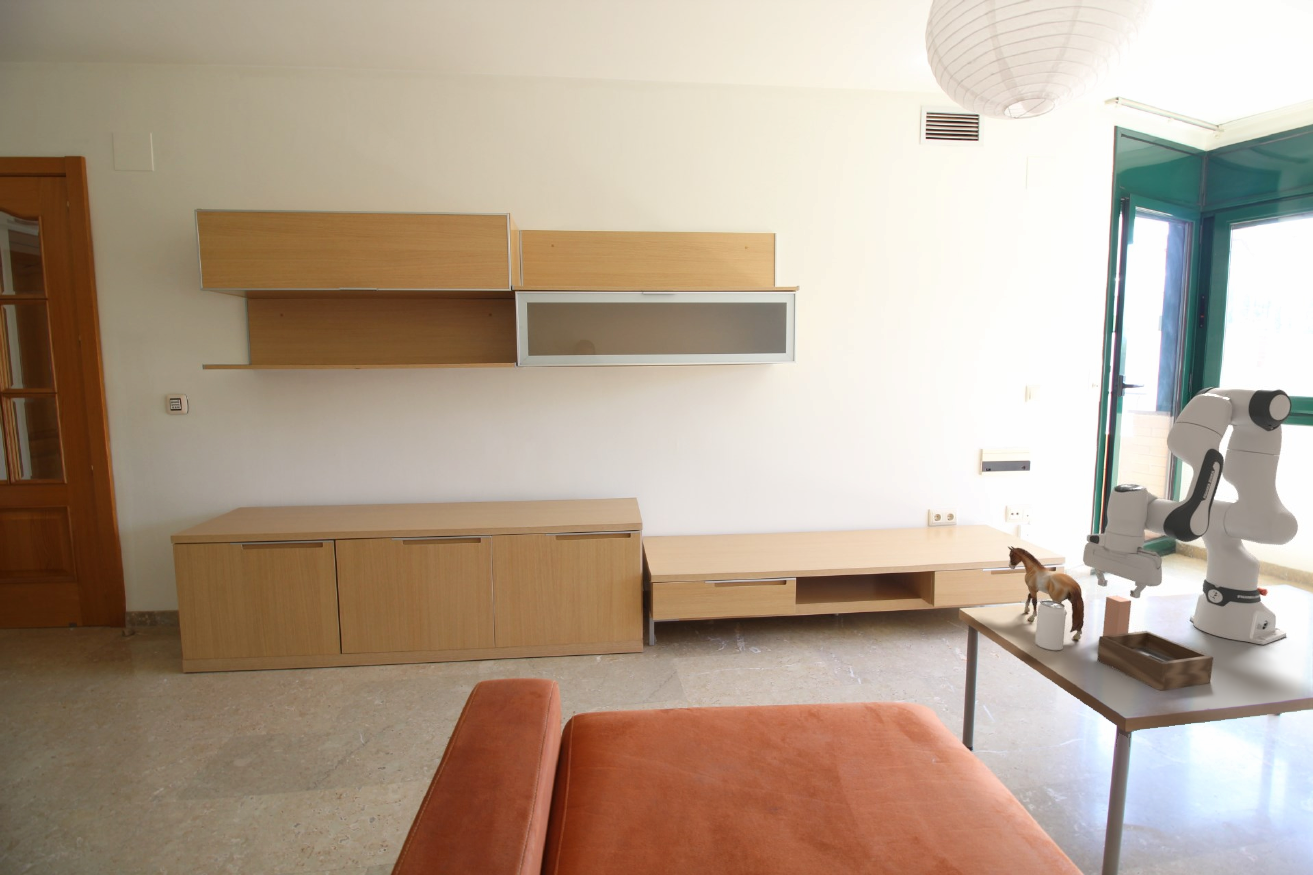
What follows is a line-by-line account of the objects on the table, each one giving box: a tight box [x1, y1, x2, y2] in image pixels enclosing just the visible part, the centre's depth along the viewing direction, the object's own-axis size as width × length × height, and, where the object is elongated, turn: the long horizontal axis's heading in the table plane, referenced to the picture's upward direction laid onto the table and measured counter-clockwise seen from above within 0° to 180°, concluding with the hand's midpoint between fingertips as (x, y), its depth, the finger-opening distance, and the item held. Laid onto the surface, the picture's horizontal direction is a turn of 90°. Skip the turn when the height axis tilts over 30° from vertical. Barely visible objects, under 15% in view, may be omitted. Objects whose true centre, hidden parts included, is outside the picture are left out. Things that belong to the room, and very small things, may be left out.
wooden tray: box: [1096, 630, 1214, 691], centre depth 158 cm, size 16×16×6 cm
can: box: [1034, 599, 1067, 652], centre depth 172 cm, size 6×6×12 cm
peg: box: [1102, 595, 1132, 636], centre depth 176 cm, size 4×4×12 cm
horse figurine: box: [1007, 546, 1085, 640], centre depth 184 cm, size 31×8×21 cm, turn 5°
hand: (1118, 591), depth 175 cm, fingers open, 8 cm apart
